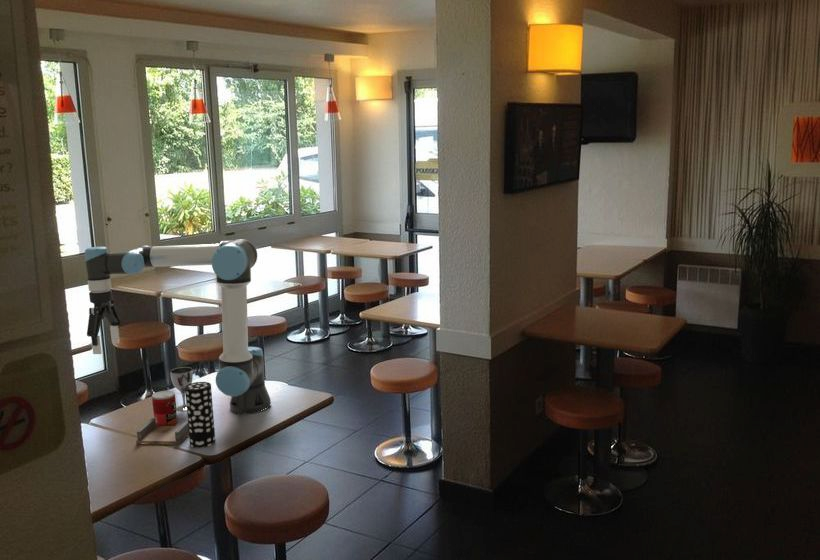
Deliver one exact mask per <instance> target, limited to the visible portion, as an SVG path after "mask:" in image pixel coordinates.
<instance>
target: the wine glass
mask: <svg viewBox="0 0 820 560" xmlns="http://www.w3.org/2000/svg"><path fill="white" fill-rule="evenodd" d="M193 371H194V370H193V368H192V367H189V366H180V367H174V368H172V369H171V370H170V379H171V382H172V385H173V387H174V388H175V389H176V390H177V391H179V393H180V394H181V397H182V403H183V404H181V405H179V406H176V412H187V406H186V394H185V386H186V385H188V384H191V383H193V378H194V374H193V373H194V372H193Z"/></svg>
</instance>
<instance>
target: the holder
mask: <svg viewBox="0 0 820 560" xmlns="http://www.w3.org/2000/svg"><path fill="white" fill-rule="evenodd" d="M136 435H137V437H136V438H137V439H136V440H135V442H136V443H154V444H153V445H164V444H166V446H167V445H173V446H175V445H176V446H179V445H182V443H183V442H185V440H186V439H187V438H188V437H189V429H188V419H187V420H185V422H184V423H182V424H181V425H179V426H177V425H172V426H156V420H155V418H154V417H153V418H152V417H151V419H149V420H148V421H147V422H146V423H145V424H144V425H142V427H141V428H140V429H138V430H137V431H136Z"/></svg>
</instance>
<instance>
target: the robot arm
mask: <svg viewBox="0 0 820 560" xmlns="http://www.w3.org/2000/svg"><path fill="white" fill-rule="evenodd" d="M257 260H258V251H257V248H256V246H255V245H254V244H253V243H252V242H251V241H249V240H248V239H244V238H243V239H242V238H240V239H231V240H221V241H220V243H215V244H214V243H211V244H209V243H208V244H183V245H180V244H179V245H161V246H160V245H159V246H157V245H156V246H155V245H154V246H150V245H138V246H136V247H134V248H132V249H128V250H126V251H123V252H122V251H121V252H109V251H108V247H106V246H93V247H92V246H91V247H88V248H87V247H86V248H85V250H84V263H85V267H86V275H87V286H88V291H89V293H88V295H89V302H90V303H91V304H93V307H89V308H88V314H89V315H88V316H89V317H88V321H87V322H88V323H87V331H86V336H87V337H88V338H89V337H91V338H90V339H91V346H92V353H93V355H102V345H101V337H100V335H99V334H100V333H99V332H100V328H101V325H102V321H103V320H104V319H105V317H106V319H107V321H108V322H109V324H110V326H109V329H110V337H111V344H120V343H121V341H120V331H119V326H121V325H122V323H121V322H122V319H121V317H120V314H119V311H118V309H117V307H116V303H115V299H113V291H112V280H111V279H112V278H111V275H133V274H136V275H137V274H140V273H142V272H143V270H144V268H155V267H156V268H157V267H161V268H162V267H183V266H184V267H185V266H187V267H188V266H189V267H190V266H211V268H212V271H213V272H214V274H215V275H216V284H218V285H219V286H220V288H221V289H220V290H221V291H220V292H221V317H222V319H221V320H222V321H221V322H222V348H223V349H222V351H223V352H222V353H221V354H220V355H219V357H218V363H219V364H218V365H219V367H218V368H219V369H218V371H217V373H216V376H215V384H216V387H217V389H218V391H220V392H221V393H222V394H224V395H226V396H228V397H230V401H229V409H231V410H230V411H231V412H233V413H235V412H236V414H241V413H249V414H253V413H252V412H257V413H259V412H258V411H261V410H263V409H265V408H267V407H269V406H270V404H271V405H272V401H271V397H270V395H269V392H268V390H267V386H266V381H265V380H266V379H265V364H264V352H263V349H262V347H257V346H249V335H248V331H249V330H248V326H249V325H248V294H247V292H248V288H247V286H249V284H250V283H251V282H252V276H251V275H252V268H253V267H254V266H255V265H256V263H257V262H258V261H257ZM270 407H271V406H270ZM270 407H269V408H270ZM261 412H262V411H261Z"/></svg>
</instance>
